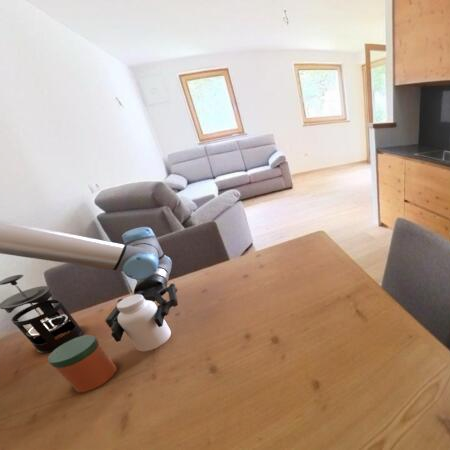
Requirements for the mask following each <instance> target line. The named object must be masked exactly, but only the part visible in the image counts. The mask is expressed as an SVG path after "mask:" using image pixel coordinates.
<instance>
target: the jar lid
mask: <svg viewBox="0 0 450 450" xmlns="http://www.w3.org/2000/svg"><path fill="white" fill-rule="evenodd" d="M98 344H99V345H100V343H99V340H98V339H97V338H96V336H95V335H93V334H84V335H81V336H80V337H77V338H74V339H72V340H70V341H68V342H66V343H64V344H62V345H61V346H59V347H58V348H56V349H55V350H54V351H53V352H51V353H49V355H48V357H47V362H48V363H49V364H50V365H51V366H52V367H53V368H55V367H56V368H61V367H66V366H69V365H72V364H74V363H76V362H78V361H80V360H82V359H84V358H85V357H87V356H88V355H90V354H91V353H92V352H93V351H94V350H95V349H96V348H97V347H98ZM56 368H55V369H56Z"/></svg>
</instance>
